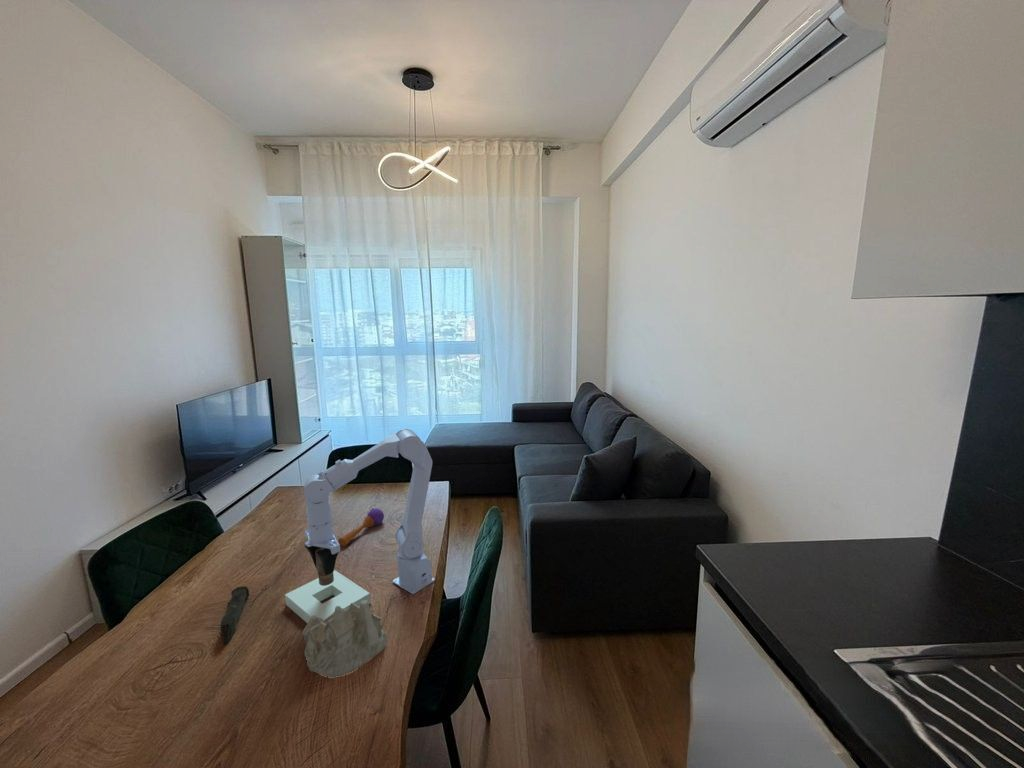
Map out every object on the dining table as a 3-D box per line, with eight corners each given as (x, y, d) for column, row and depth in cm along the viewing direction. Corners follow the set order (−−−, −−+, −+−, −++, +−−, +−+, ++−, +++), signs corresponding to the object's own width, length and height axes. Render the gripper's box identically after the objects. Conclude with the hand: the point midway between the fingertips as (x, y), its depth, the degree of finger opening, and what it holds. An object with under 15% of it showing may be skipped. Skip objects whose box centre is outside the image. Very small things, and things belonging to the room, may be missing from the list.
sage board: (370, 603, 114) (369, 593, 113) (319, 634, 103) (318, 623, 102) (335, 579, 125) (334, 569, 124) (286, 604, 114) (284, 594, 113)
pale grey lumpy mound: (395, 645, 98) (386, 586, 96) (324, 693, 87) (312, 626, 85) (364, 618, 109) (355, 563, 107) (297, 657, 98) (286, 597, 96)
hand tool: (233, 600, 117) (231, 585, 116) (250, 597, 118) (247, 581, 117) (211, 650, 99) (208, 632, 98) (231, 645, 100) (228, 627, 100)
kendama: (333, 534, 144) (372, 505, 162) (338, 550, 145) (376, 520, 163) (346, 534, 141) (384, 505, 159) (351, 550, 142) (388, 519, 160)
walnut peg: (338, 580, 114) (336, 548, 112) (324, 588, 110) (321, 556, 109) (328, 574, 116) (326, 544, 114) (314, 582, 112) (311, 551, 111)
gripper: (291, 519, 112) (296, 567, 114) (318, 536, 103) (324, 587, 105) (317, 509, 117) (322, 555, 119) (345, 524, 108) (350, 573, 110)
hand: (324, 569), depth 112 cm, fingers closed on walnut peg, 4 cm apart
